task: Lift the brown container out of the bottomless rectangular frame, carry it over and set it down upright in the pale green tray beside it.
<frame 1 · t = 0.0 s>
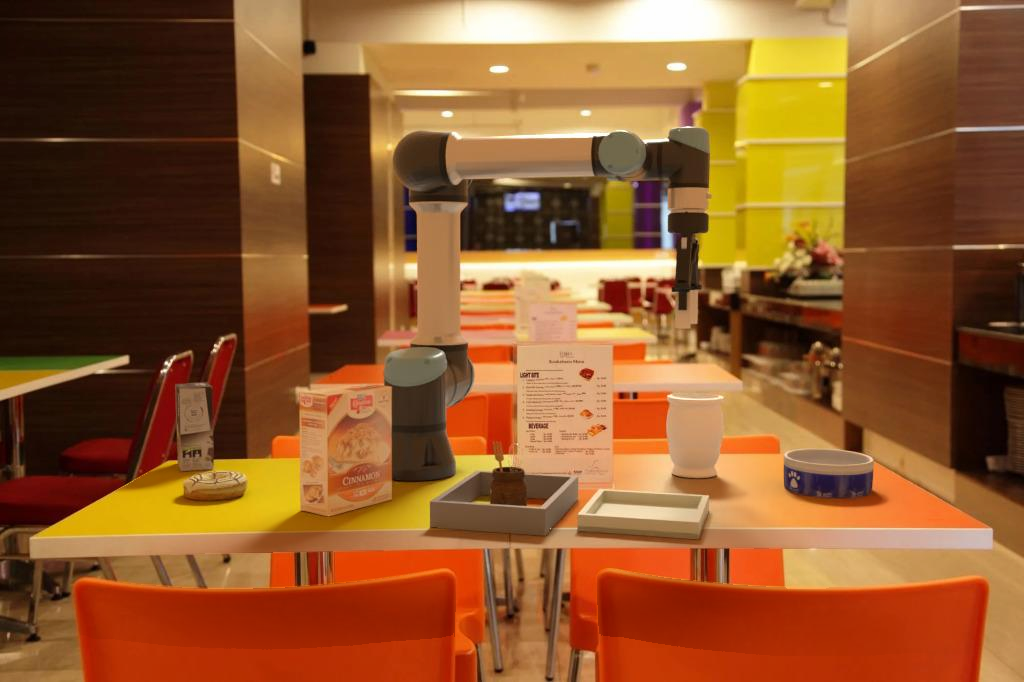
hand: (686, 326, 197), 28 cm above the table, fingers open, 13 cm apart
coffee box: (195, 467, 206), on the table
jar: (694, 475, 199), on the table
decorated donut: (216, 497, 182), on the table
bottomless rectangular frame: (508, 512, 169), on the table
coffeecake box: (347, 506, 174), on the table
tray: (645, 520, 164), on the table
brown container: (508, 514, 169), resting in bottomless rectangular frame
dog bowl: (827, 490, 187), on the table
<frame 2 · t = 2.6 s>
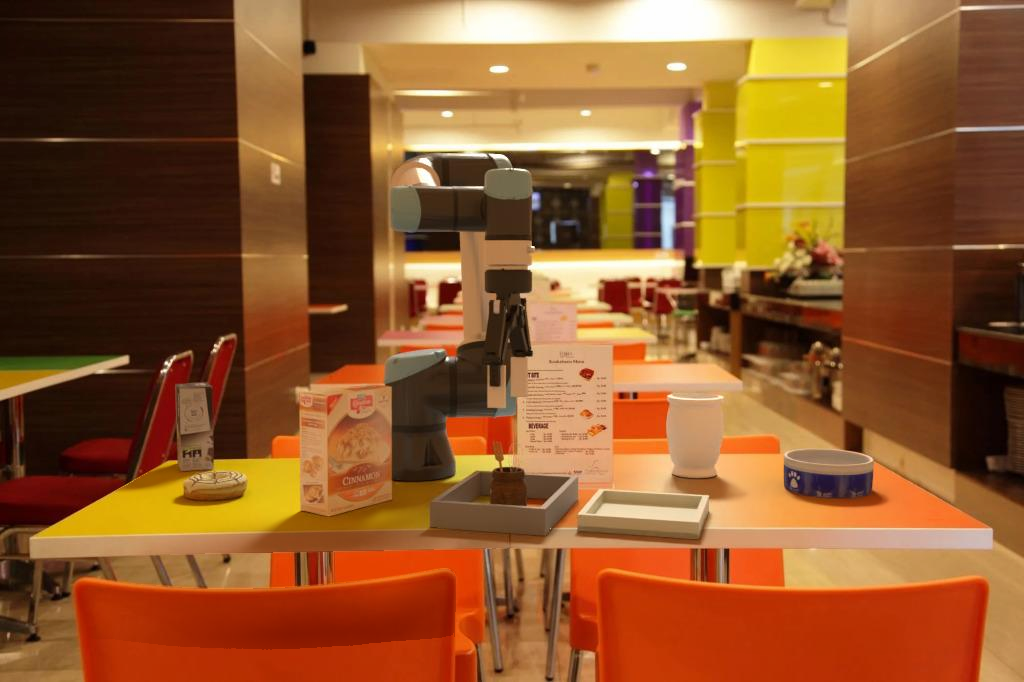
hand: (508, 402, 167), 18 cm above the table, fingers open, 13 cm apart
nothing on the table moved.
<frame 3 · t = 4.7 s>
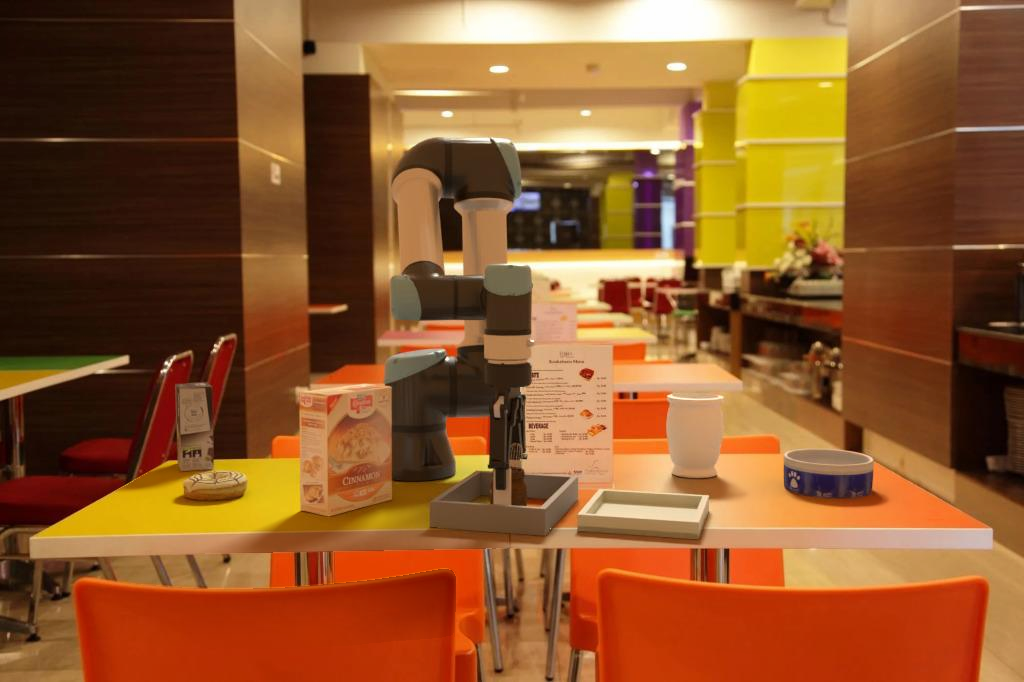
hand: (508, 504, 169), 1 cm above the table, fingers closed on brown container, 6 cm apart
brown container: (508, 514, 169), resting in bottomless rectangular frame, touching gripper
everything else where it was.
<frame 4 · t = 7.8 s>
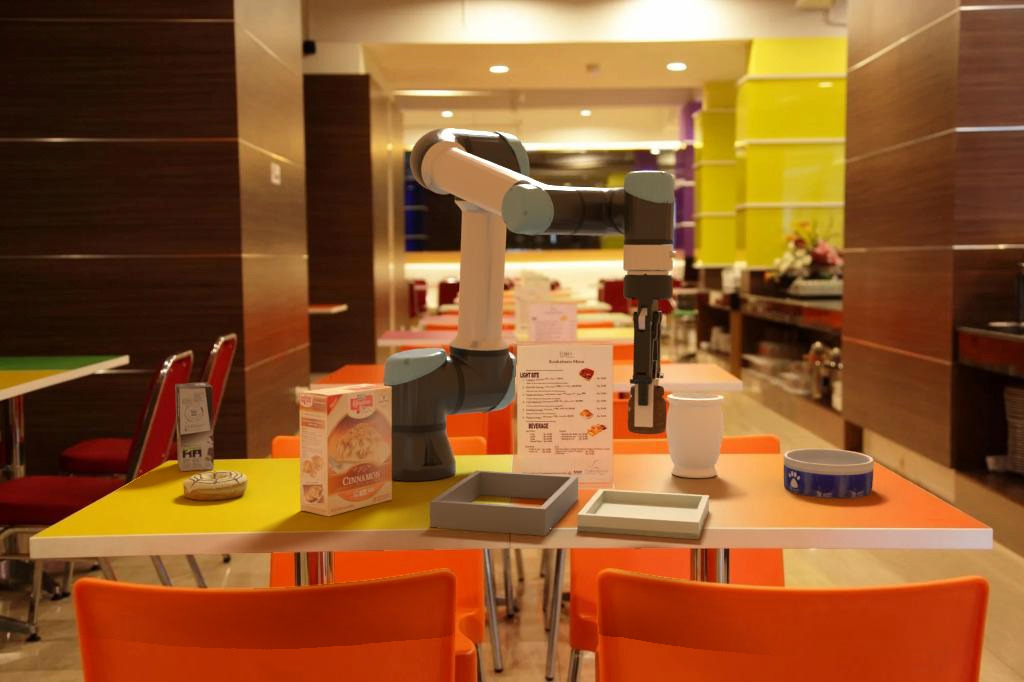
hand: (646, 422, 163), 15 cm above the table, fingers closed on brown container, 6 cm apart
brown container: (646, 433, 163), point 14 cm above the table, touching gripper
everything else where it was.
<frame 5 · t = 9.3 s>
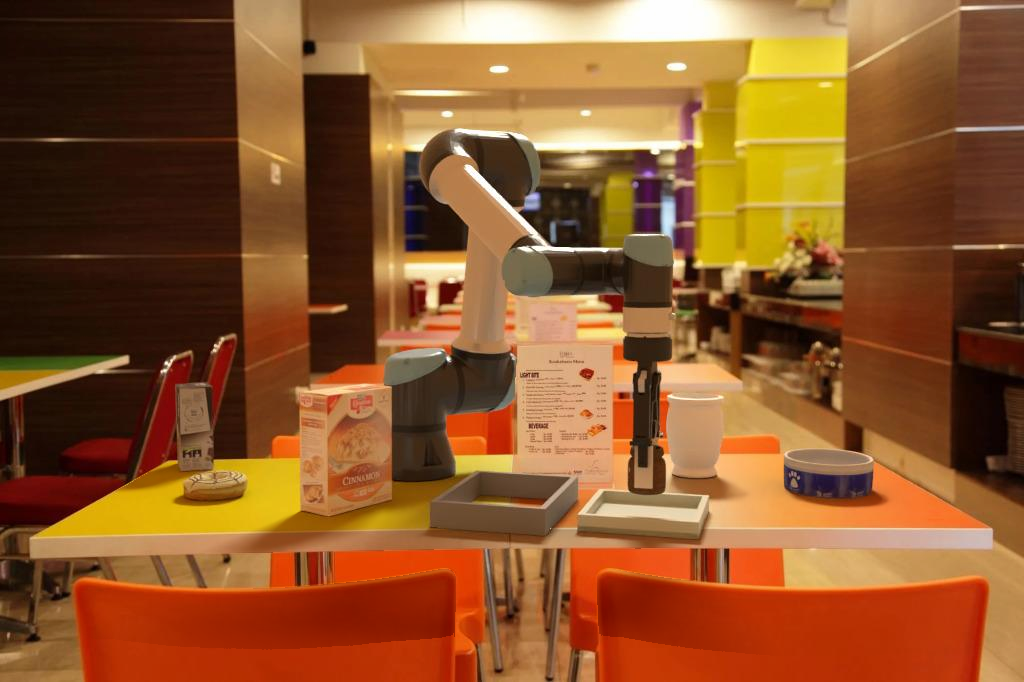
hand: (646, 483, 164), 6 cm above the table, fingers closed on brown container, 6 cm apart
brown container: (646, 493, 164), point 4 cm above the table, touching gripper
everything else where it was.
when the fingers open (3 cm above the table, at t = 10.6 s): brown container drops 1 cm, resting on tray.
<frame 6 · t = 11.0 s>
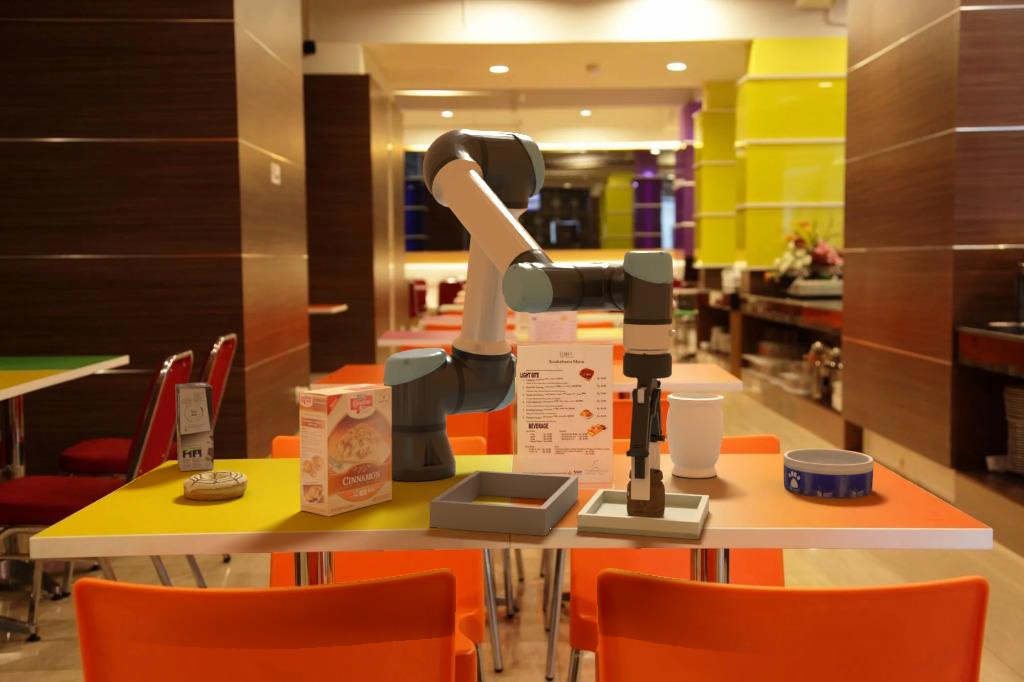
hand: (645, 490, 164), 5 cm above the table, fingers open, 11 cm apart
brown container: (645, 516, 164), point 1 cm above the table, touching tray
everything else where it was.
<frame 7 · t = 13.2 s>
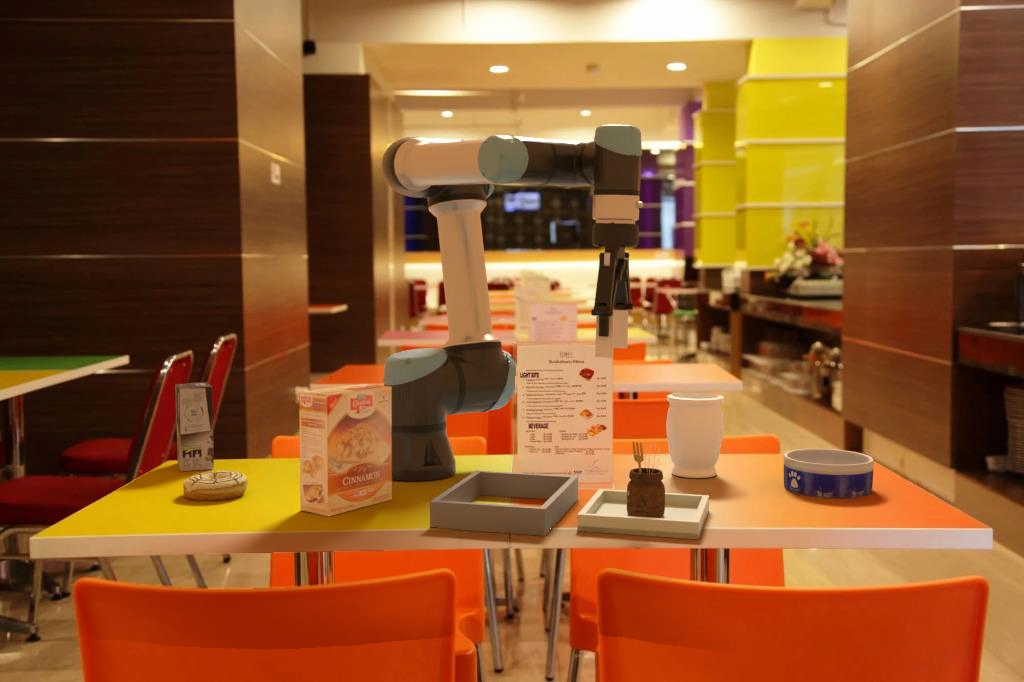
hand: (611, 352, 173), 25 cm above the table, fingers open, 13 cm apart
nothing on the table moved.
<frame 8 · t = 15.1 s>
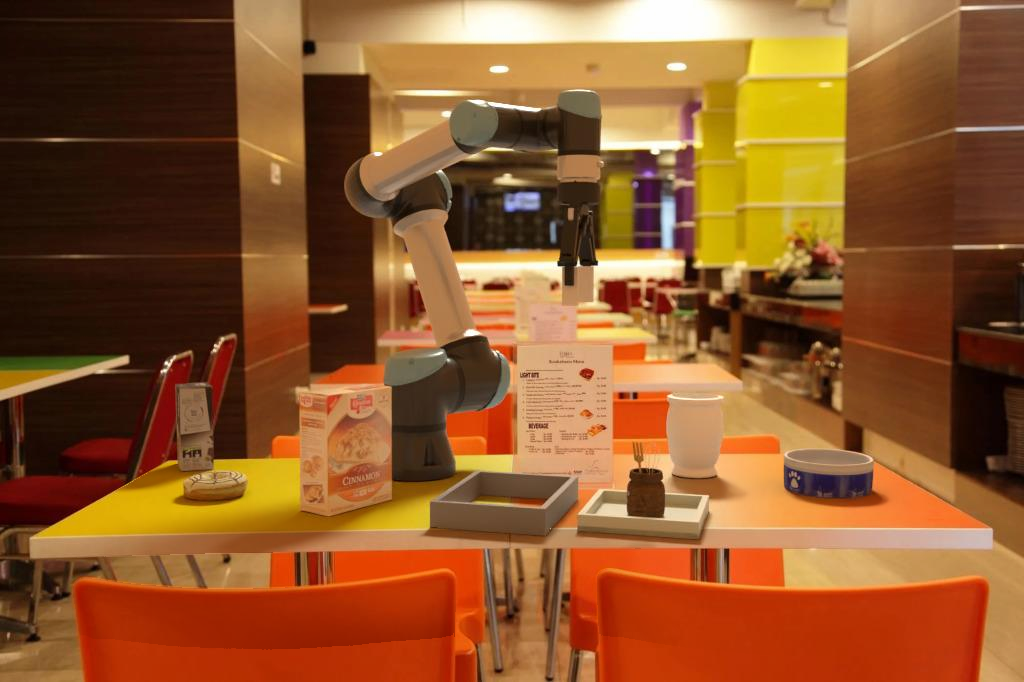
hand: (578, 304, 185), 33 cm above the table, fingers open, 13 cm apart
nothing on the table moved.
at the end: brown container inside the target area on the tray (0.1 cm from its centre), point 0.6 cm above the tray's base; brown container tilted 0°; brown container touching tray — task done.
